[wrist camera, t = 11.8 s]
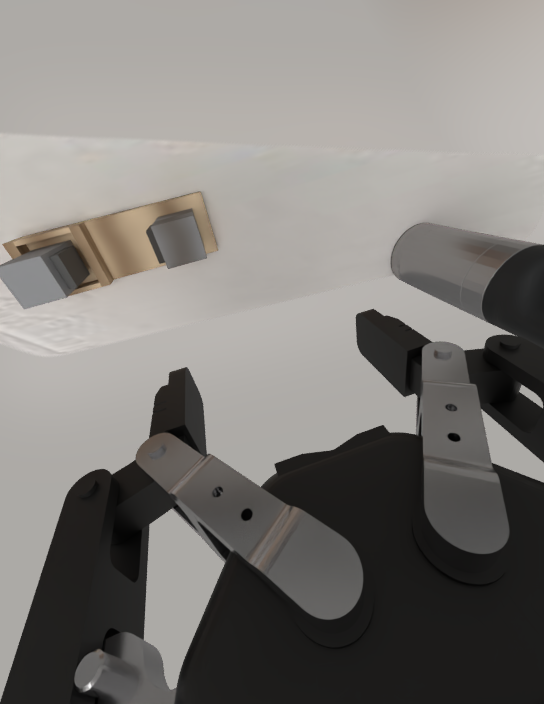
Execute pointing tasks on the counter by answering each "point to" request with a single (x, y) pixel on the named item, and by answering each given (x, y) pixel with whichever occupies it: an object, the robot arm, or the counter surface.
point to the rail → (132, 240)
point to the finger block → (44, 274)
